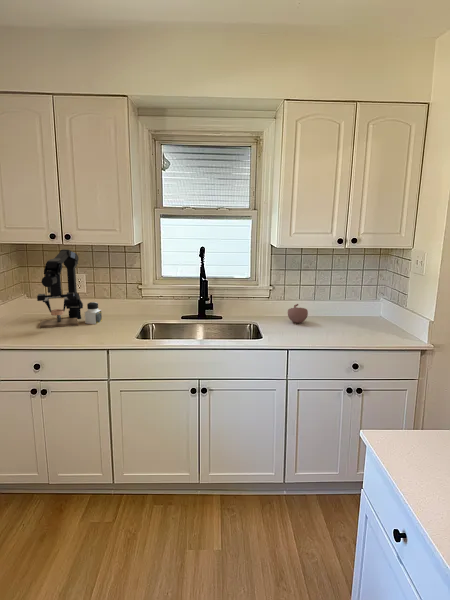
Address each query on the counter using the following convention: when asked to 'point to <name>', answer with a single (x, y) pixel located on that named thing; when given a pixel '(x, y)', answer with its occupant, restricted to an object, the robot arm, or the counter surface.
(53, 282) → the robot arm
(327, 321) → the counter surface
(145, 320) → the counter surface
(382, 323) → the counter surface
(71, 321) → the hook board
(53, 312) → the ring
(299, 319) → the reddish brown apple
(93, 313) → the medicine bottle
